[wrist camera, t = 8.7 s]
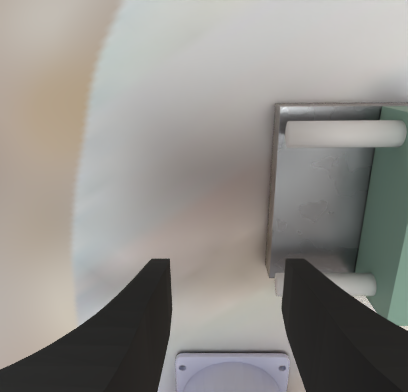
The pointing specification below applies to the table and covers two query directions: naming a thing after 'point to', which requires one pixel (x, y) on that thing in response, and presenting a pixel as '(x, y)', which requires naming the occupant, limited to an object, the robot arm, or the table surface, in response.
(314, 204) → the base
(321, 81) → the table surface
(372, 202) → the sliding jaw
